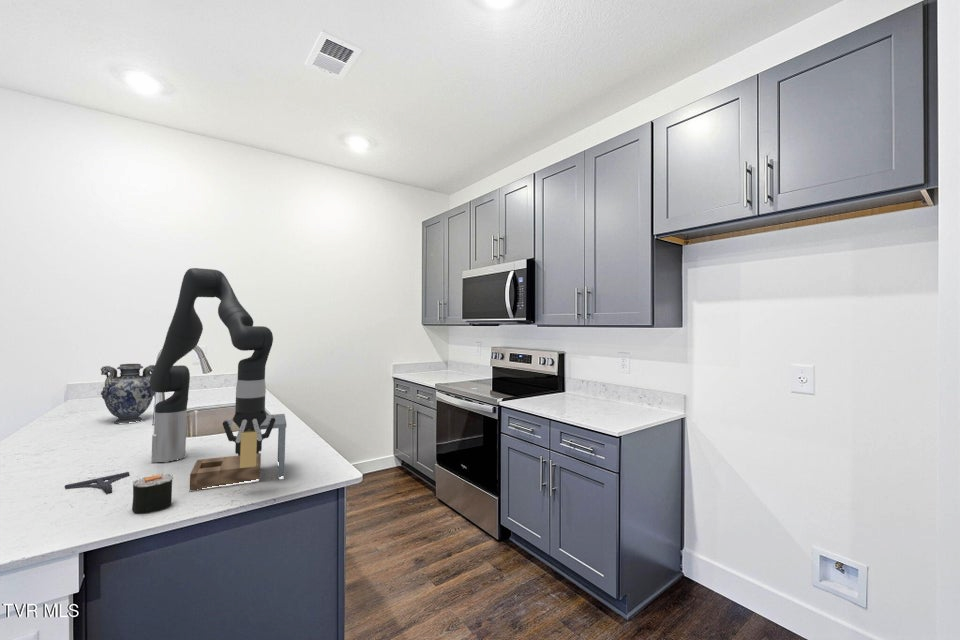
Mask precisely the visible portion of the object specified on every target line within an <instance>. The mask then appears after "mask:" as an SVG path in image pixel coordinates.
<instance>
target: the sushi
mask: <svg viewBox="0 0 960 640" xmlns="http://www.w3.org/2000/svg"><path fill="white" fill-rule="evenodd" d="M173 480H174V475H172V474H171V473H161V474H160V473H156V474H152V475H150V476H144V477H141V478H138V479H135V480H132V507H131V511H132V513H134V514H136V515H143V514H144V515H145V514H148V513H149V514H150V513H154V512H159V511H163V510H166V509H167V508H168V509H169V508H170V507H171V506H172V496H173V495H172V494H173V493H172V492H173Z"/></svg>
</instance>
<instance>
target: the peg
mask: <svg viewBox="0 0 960 640" xmlns="http://www.w3.org/2000/svg"><path fill="white" fill-rule="evenodd" d="M256 449H257V431H255V430H247V431H244V432H243V433H241V449H240V468H246V467H255V466H256Z"/></svg>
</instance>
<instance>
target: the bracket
mask: <svg viewBox="0 0 960 640" xmlns="http://www.w3.org/2000/svg"><path fill="white" fill-rule="evenodd" d="M128 477H130V472H129V471H125V472H119V473H116V474H112V475H107V476H103V477H102V476H101V477H97V478H92V479H89V480H88V479H87V480H83V481H79V482H73V483H68V484H65V485H64V488H65V490H72V489H82V488H84V489H85V488H92V489H101V490H102V491H103V493H106V494H105V495H109V494H112V493H113V485H112V482H113V483H115V482H116V480H117V481H119V480H121V478H122V479H124V478H128ZM105 480H108V481H105ZM114 481H115V482H114ZM92 483H94V484H92Z"/></svg>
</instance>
